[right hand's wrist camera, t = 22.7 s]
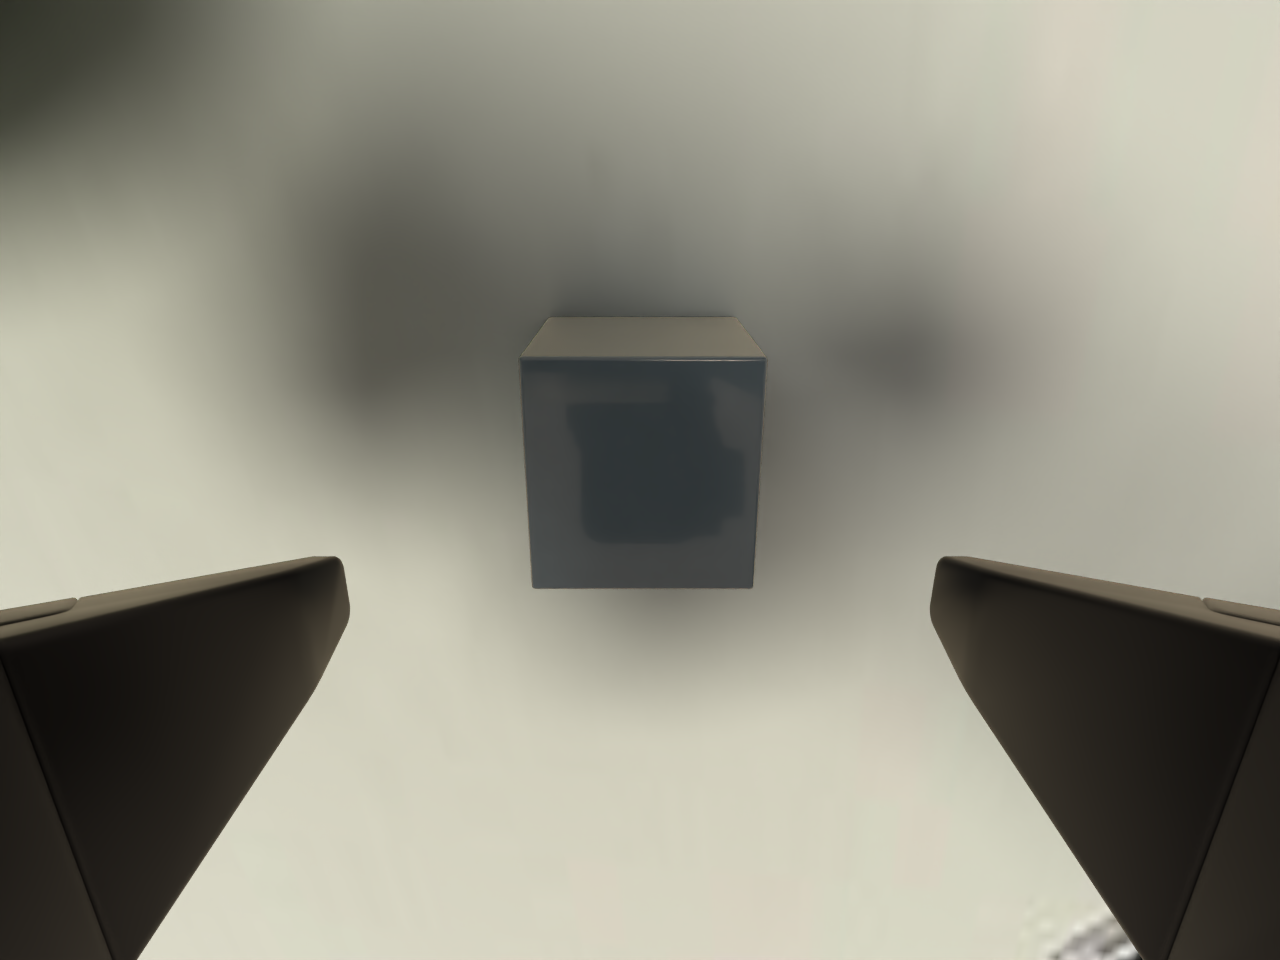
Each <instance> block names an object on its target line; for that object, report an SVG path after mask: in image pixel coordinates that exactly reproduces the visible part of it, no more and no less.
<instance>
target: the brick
mask: <svg viewBox="0 0 1280 960" xmlns="http://www.w3.org/2000/svg"><path fill="white" fill-rule="evenodd" d="M518 362H519V378H520V395H521V412H522V429H523V445H524V462H525V479H526V495H527V512H528V529H529V546H530V562H531V579H532V587H533V588H534V589H752V588H753V585H754V569H755V554H756V538H757V522H758V506H759V490H760V474H761V459H762V443H763V427H764V411H765V395H766V380H767V364H768V360H767V357H766V356H765V354H764V353H763V352H762V351H761V349H760V348H759V347H758V345H757V344H756V343H755V341H754V340H753V339H752V337H751V336H750V335H749V334H748V332H747V331H746V330H745V328H744V327H743V326H742V324H741V323H740V322H739V321H738V319H737V318H736V317H549V318H548V319H547V321H546V322H545V323H544V325H543V326H542V327H541V329H540V330H539V331H538V333H537V334H536V336H535V337H534V338H533V340H532V341H531V342H530V344H529V345H528V346H527V348H526V349H525V350H524V352H523V353H522V354H521V356H520V357H519V360H518Z"/></svg>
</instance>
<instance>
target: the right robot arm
mask: <svg viewBox="0 0 1280 960" xmlns="http://www.w3.org/2000/svg"><path fill="white" fill-rule="evenodd" d="M349 616H350V603H349V597H348V591H347V584H346V578H345V572H344V567H343V564H342V562H341V560H340V559H339V558H337V557H335V556H329V557H307V558H301V559H296V560H290V561H284V562H279V563H273V564H267V565H262V566H256V567H250V568H245V569H239V570H233V571H228V572H222V573H216V574H211V575H205V576H199V577H194V578H188V579H182V580H177V581H171V582H165V583H160V584H154V585H148V586H143V587H137V588H131V589H125V590H120V591H114V592H108V593H103V594H97V595H91V596H86V597H81V598H80V599H79V600H77V599H76V598H69V599H63V600H57V601H51V602H46V603H40V604H34V605H28V606H22V607H16V608H10V609H5V610H0V960H137V959H138V957H139V956H140V954H141V953H142V951H143V950H144V948H145V947H146V945H147V944H148V942H149V941H150V939H151V938H152V936H153V935H154V933H155V932H156V930H157V929H158V927H159V926H160V924H161V923H162V921H163V920H164V918H165V916H166V915H167V913H168V912H169V910H170V909H171V907H172V906H173V904H174V903H175V901H176V900H177V898H178V897H179V895H180V894H181V892H182V891H183V889H184V888H185V886H186V885H187V883H188V882H189V880H190V879H191V877H192V876H193V874H194V873H195V871H196V870H197V868H198V867H199V865H200V864H201V862H202V861H203V859H204V857H205V856H206V854H207V853H208V851H209V850H210V848H211V847H212V845H213V844H214V842H215V841H216V839H217V838H218V836H219V835H220V833H221V832H222V830H223V829H224V827H225V826H226V824H227V823H228V821H229V820H230V818H231V817H232V815H233V814H234V812H235V811H236V809H237V808H238V806H239V805H240V803H241V802H242V800H243V798H244V797H245V795H246V794H247V792H248V791H249V789H250V788H251V786H252V785H253V783H254V782H255V780H256V779H257V777H258V776H259V774H260V773H261V771H262V770H263V768H264V767H265V765H266V764H267V762H268V761H269V759H270V758H271V756H272V755H273V753H274V752H275V750H276V749H277V747H278V746H279V744H280V742H281V741H282V739H283V738H284V736H285V735H286V733H287V732H288V730H289V729H290V727H291V726H292V724H293V723H294V721H295V720H296V718H297V717H298V715H299V714H300V712H301V711H302V709H303V708H304V706H305V705H306V703H307V702H308V700H309V698H310V697H311V695H312V694H313V692H314V690H315V689H316V687H317V685H318V683H319V681H320V679H321V677H322V675H323V673H324V671H325V669H326V667H327V665H328V663H329V661H330V659H331V657H332V655H333V653H334V651H335V648H336V646H337V644H338V642H339V640H340V638H341V636H342V634H343V632H344V630H345V628H346V626H347V623H348V620H349ZM930 616H931V620H932V623H933V626H934V628H935V630H936V632H937V634H938V636H939V638H940V640H941V642H942V644H943V646H944V648H945V651H946V653H947V655H948V657H949V659H950V661H951V663H952V665H953V667H954V669H955V671H956V673H957V675H958V677H959V679H960V681H961V683H962V685H963V687H964V689H965V690H966V692H967V694H968V695H969V697H970V698H971V700H972V702H973V703H974V705H975V706H976V708H977V709H978V711H979V712H980V714H981V715H982V717H983V718H984V720H985V721H986V723H987V724H988V726H989V727H990V729H991V730H992V732H993V733H994V735H995V736H996V738H997V739H998V741H999V742H1000V744H1001V745H1002V747H1003V748H1004V750H1005V752H1006V753H1007V755H1008V756H1009V758H1010V759H1011V761H1012V762H1013V764H1014V765H1015V767H1016V768H1017V770H1018V771H1019V773H1020V774H1021V776H1022V777H1023V779H1024V780H1025V782H1026V783H1027V785H1028V786H1029V788H1030V789H1031V791H1032V792H1033V794H1034V795H1035V797H1036V798H1037V800H1038V801H1039V803H1040V804H1041V806H1042V807H1043V809H1044V810H1045V812H1046V813H1047V815H1048V817H1049V818H1050V820H1051V821H1052V823H1053V824H1054V826H1055V827H1056V829H1057V830H1058V832H1059V833H1060V835H1061V836H1062V838H1063V839H1064V841H1065V842H1066V844H1067V845H1068V847H1069V848H1070V850H1071V851H1072V853H1073V854H1074V856H1075V857H1076V859H1077V860H1078V862H1079V863H1080V865H1081V866H1082V868H1083V870H1084V871H1085V873H1086V874H1087V876H1088V877H1089V879H1090V880H1091V882H1092V883H1093V885H1094V886H1095V888H1096V889H1097V891H1098V892H1099V894H1100V895H1101V897H1102V898H1103V900H1104V901H1105V903H1106V904H1107V906H1108V907H1109V909H1110V910H1111V912H1112V913H1113V915H1114V916H1115V918H1116V919H1117V921H1118V923H1119V924H1120V926H1121V927H1122V929H1123V930H1124V932H1125V933H1126V935H1127V936H1128V938H1129V939H1130V941H1131V942H1132V944H1133V945H1134V947H1135V948H1136V950H1137V951H1138V953H1139V954H1140V956H1141V957H1142V959H1143V960H1280V610H1275V609H1270V608H1264V607H1258V606H1252V605H1246V604H1240V603H1234V602H1229V601H1223V600H1217V599H1211V598H1204V599H1203V600H1201V599H1200V598H1199V597H1195V596H1189V595H1183V594H1178V593H1172V592H1166V591H1161V590H1155V589H1149V588H1144V587H1138V586H1132V585H1127V584H1121V583H1115V582H1110V581H1104V580H1098V579H1092V578H1087V577H1081V576H1075V575H1070V574H1064V573H1058V572H1053V571H1047V570H1041V569H1036V568H1030V567H1024V566H1019V565H1013V564H1007V563H1001V562H996V561H990V560H984V559H979V558H973V557H964V556H945V557H943V558H941V559H940V560H939V562H938V564H937V567H936V572H935V578H934V584H933V591H932V597H931V603H930Z"/></svg>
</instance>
